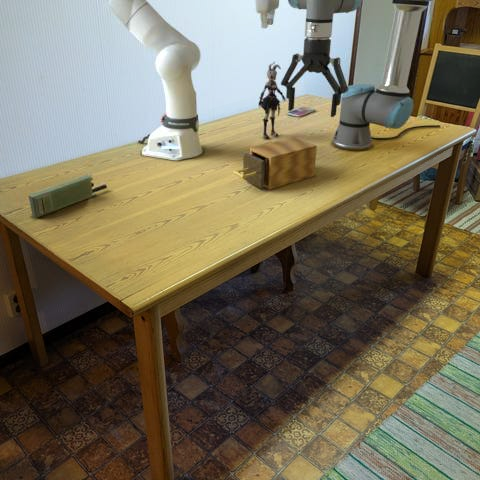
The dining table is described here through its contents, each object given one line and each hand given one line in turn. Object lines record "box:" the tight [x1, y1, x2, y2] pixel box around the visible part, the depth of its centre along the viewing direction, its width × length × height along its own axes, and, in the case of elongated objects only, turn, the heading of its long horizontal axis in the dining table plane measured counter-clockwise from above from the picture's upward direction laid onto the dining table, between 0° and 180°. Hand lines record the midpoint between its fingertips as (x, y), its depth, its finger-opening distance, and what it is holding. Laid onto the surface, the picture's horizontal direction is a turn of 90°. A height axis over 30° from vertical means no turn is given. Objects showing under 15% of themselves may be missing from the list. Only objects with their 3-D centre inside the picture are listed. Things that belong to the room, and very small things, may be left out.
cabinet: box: [249, 136, 318, 190], centre depth 168 cm, size 20×11×11 cm, turn 127°
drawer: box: [232, 152, 269, 189], centre depth 165 cm, size 24×9×9 cm, turn 127°
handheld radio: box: [28, 173, 108, 219], centre depth 150 cm, size 7×3×25 cm
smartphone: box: [286, 106, 316, 118], centre depth 240 cm, size 7×1×15 cm
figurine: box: [258, 61, 287, 140], centre depth 201 cm, size 15×6×30 cm, turn 132°
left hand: (267, 26), depth 162 cm, fingers open, 8 cm apart
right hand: (311, 112), depth 153 cm, fingers open, 13 cm apart
